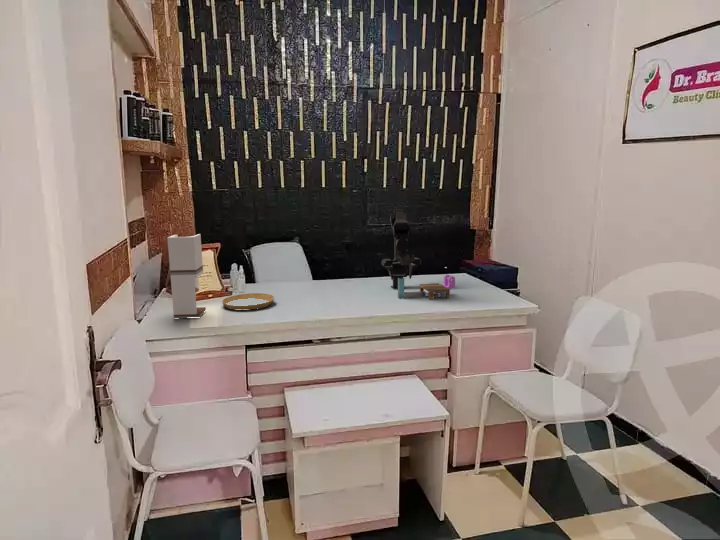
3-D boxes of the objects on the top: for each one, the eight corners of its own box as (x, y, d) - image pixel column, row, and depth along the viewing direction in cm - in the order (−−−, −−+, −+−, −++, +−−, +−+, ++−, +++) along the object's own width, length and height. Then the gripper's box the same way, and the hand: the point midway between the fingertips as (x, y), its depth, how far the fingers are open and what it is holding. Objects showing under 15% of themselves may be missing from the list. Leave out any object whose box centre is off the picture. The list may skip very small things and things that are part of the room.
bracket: (449, 286, 265) (449, 274, 264) (455, 289, 260) (455, 276, 258) (428, 289, 260) (428, 276, 259) (433, 291, 255) (433, 278, 254)
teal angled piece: (397, 297, 241) (397, 277, 239) (424, 295, 244) (424, 276, 242) (399, 298, 239) (399, 278, 237) (425, 297, 242) (426, 277, 240)
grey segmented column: (199, 318, 207) (193, 236, 201) (174, 319, 206) (167, 237, 200) (205, 311, 218) (200, 234, 212) (181, 312, 217) (175, 234, 211)
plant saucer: (222, 314, 215) (221, 307, 214) (222, 301, 238) (222, 295, 237) (277, 310, 221) (276, 302, 220) (272, 298, 244) (271, 291, 243)
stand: (419, 293, 250) (419, 284, 249) (437, 292, 252) (438, 283, 251) (430, 299, 236) (430, 290, 235) (449, 298, 238) (449, 289, 237)
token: (428, 295, 246) (428, 293, 246) (437, 295, 247) (438, 292, 247) (432, 297, 241) (432, 295, 241) (441, 297, 242) (441, 294, 242)
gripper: (387, 250, 226) (387, 283, 229) (425, 249, 230) (424, 281, 233) (381, 247, 237) (381, 279, 239) (417, 246, 241) (417, 277, 243)
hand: (401, 279), depth 239 cm, fingers open, 9 cm apart
